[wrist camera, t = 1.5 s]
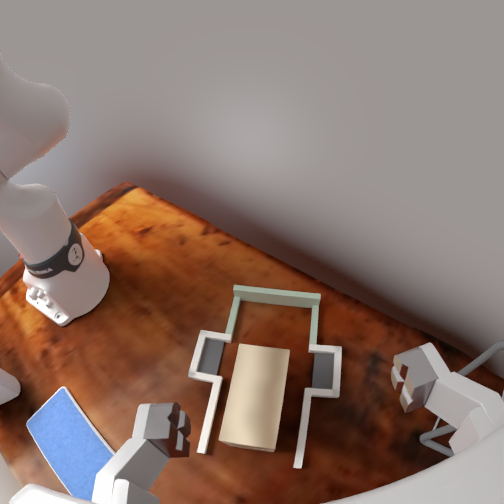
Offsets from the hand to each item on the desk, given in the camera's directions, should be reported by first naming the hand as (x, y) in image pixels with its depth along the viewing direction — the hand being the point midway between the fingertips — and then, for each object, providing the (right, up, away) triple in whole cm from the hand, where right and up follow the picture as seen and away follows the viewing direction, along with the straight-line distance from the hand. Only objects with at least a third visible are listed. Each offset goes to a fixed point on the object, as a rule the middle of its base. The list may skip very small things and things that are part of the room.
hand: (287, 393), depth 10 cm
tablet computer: (-29, -26, +23) cm, 45 cm away
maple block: (0, -17, +28) cm, 33 cm away
